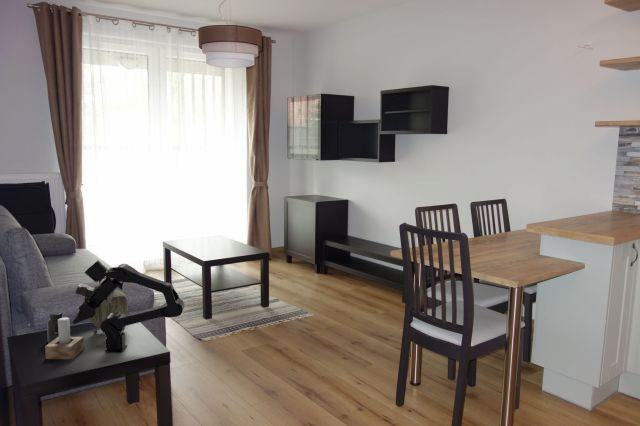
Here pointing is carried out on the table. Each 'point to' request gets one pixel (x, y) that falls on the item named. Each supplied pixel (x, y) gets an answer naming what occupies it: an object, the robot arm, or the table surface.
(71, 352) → the socket block
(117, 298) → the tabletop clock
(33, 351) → the table surface
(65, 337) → the peg
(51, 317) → the supplement bottle
